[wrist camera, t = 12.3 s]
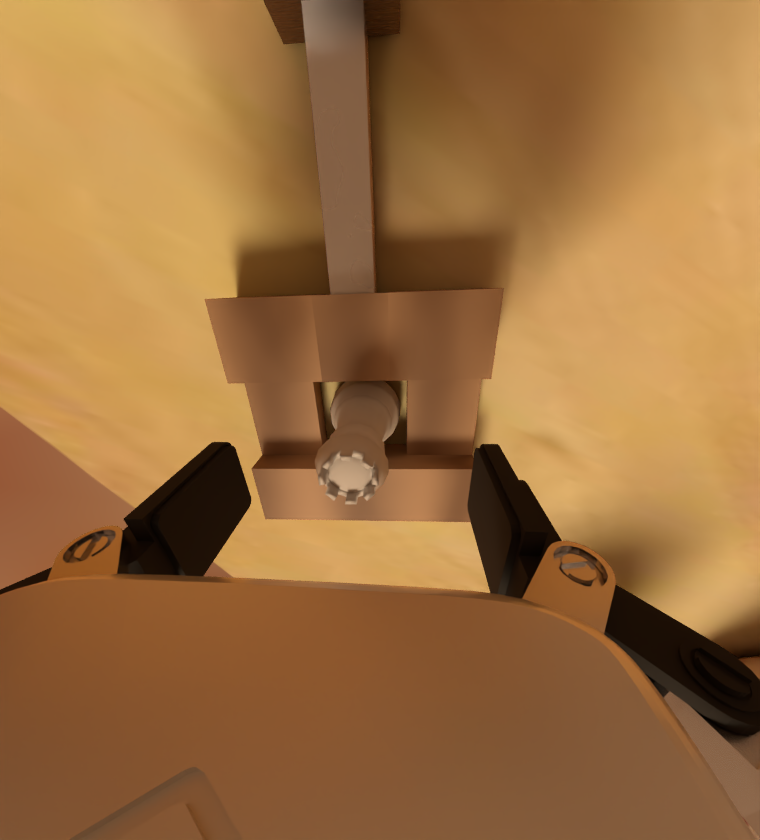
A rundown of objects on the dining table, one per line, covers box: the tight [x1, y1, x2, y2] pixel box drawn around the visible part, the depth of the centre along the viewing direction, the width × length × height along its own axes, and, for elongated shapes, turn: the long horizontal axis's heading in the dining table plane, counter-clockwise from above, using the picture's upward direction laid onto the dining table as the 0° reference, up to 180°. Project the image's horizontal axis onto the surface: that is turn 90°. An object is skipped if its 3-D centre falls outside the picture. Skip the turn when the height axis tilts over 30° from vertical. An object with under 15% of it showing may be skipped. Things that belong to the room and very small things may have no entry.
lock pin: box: [264, 0, 400, 295], centre depth 12 cm, size 5×11×4 cm, turn 2°
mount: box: [205, 288, 504, 522], centre depth 17 cm, size 14×14×3 cm
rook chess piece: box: [315, 381, 400, 504], centre depth 15 cm, size 4×4×8 cm
